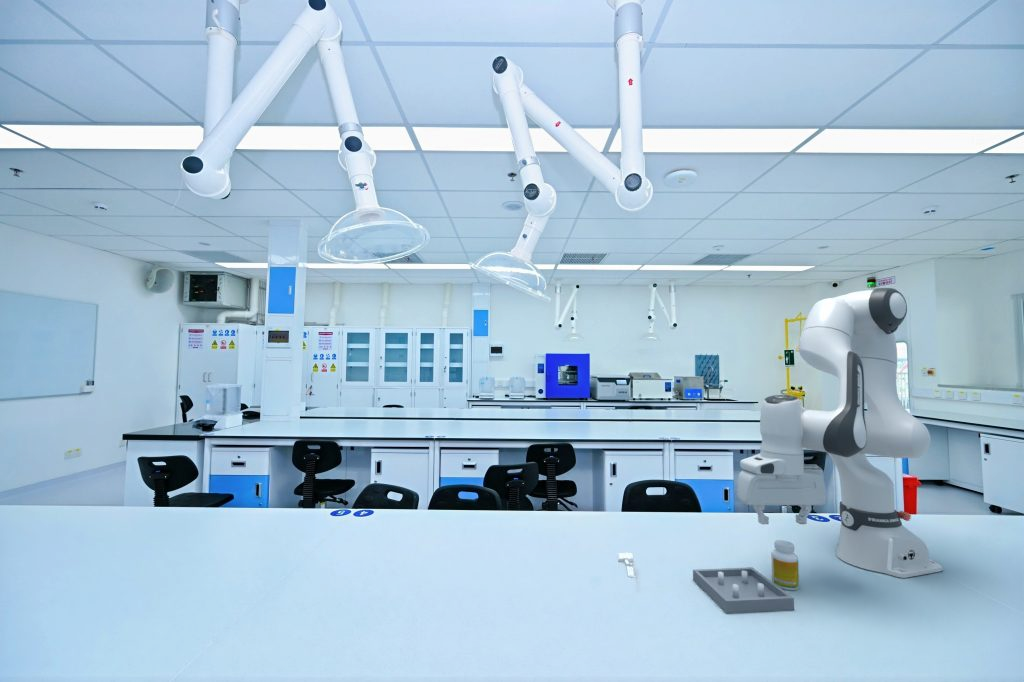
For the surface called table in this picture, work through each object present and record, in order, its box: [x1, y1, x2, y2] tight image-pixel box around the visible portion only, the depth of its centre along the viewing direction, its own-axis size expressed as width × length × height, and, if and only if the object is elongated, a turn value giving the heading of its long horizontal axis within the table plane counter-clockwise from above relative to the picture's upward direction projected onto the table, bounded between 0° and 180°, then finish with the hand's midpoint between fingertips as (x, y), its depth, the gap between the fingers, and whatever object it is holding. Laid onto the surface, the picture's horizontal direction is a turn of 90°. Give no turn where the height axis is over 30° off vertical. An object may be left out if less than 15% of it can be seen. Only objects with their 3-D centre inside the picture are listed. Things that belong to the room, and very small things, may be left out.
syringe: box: [616, 551, 639, 582], centre depth 109 cm, size 20×5×2 cm, turn 175°
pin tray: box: [692, 566, 795, 614], centre depth 99 cm, size 15×14×4 cm
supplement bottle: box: [770, 539, 800, 591], centre depth 104 cm, size 5×5×10 cm
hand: (782, 523), depth 104 cm, fingers open, 8 cm apart
